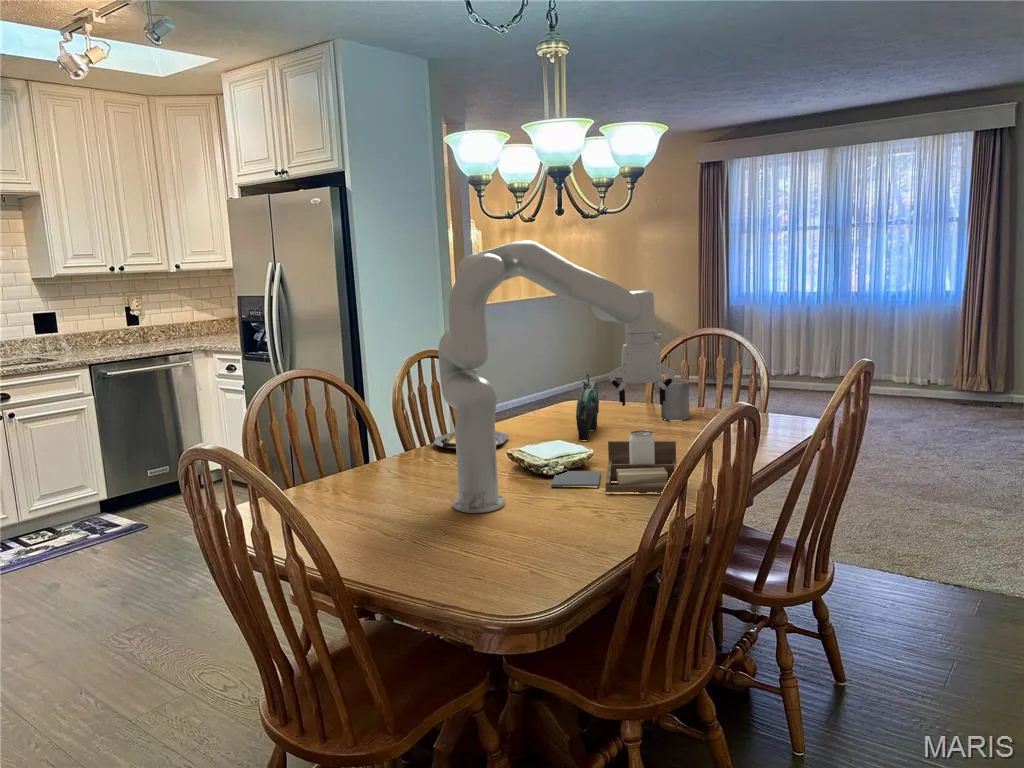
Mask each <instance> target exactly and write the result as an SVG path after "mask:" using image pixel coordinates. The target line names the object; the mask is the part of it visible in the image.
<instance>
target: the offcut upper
mask: <svg viewBox="0 0 1024 768" xmlns="http://www.w3.org/2000/svg"><path fill="white" fill-rule="evenodd" d="M616 474H617V481H618V484H619V485H625V484H652V483H667V482H668V475H667V472H666V470H665V469H664V468H638V469H616ZM618 484H617V485H618Z"/></svg>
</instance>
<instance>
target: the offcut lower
mask: <svg viewBox="0 0 1024 768" xmlns="http://www.w3.org/2000/svg"><path fill="white" fill-rule="evenodd" d="M666 484H667V483H652V484H625V485H621V486H665V485H666ZM617 485H619V484H617Z"/></svg>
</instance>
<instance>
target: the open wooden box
mask: <svg viewBox="0 0 1024 768" xmlns="http://www.w3.org/2000/svg"><path fill="white" fill-rule="evenodd" d="M607 445H608V446H607V449H608V452H607V453H608V460H607V461H608V462H607V467H606V469H607V470H606V475H605V476H606V477H605V493H606V492H634V493H635V492H639V493H647V492H653V493H654V492H657V493H660V494H661V492H662V491H663V489H664V487H665V486H621V485H618V484H611V481H617V474H616V469H638V468H664V469H665V470H666V472H667V475H668V480H669V478H670V477H671V475H672V473H673V472H674V470H675V468H676V467H677V468H678V463H677V442H676V440H654V451H655V464H630V452H629V440H608V442H607Z"/></svg>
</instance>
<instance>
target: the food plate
mask: <svg viewBox="0 0 1024 768" xmlns="http://www.w3.org/2000/svg"><path fill="white" fill-rule="evenodd" d="M509 437H510V435H509V434H508V433H505V432H504V433H503V432H501V431H496V430H495V440H496V441H497V442H498V443H497V444H496V447H497V446H499V445H502V444H504V443H505V442H506V441H507V440H508V439H509ZM432 445H434V446H436V447H438V448H445V449H456V441H455V431H453V432H449V433H445V434H443V435H438V436H437V437H436V438H435V439H434V441H433V442H432Z"/></svg>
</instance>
